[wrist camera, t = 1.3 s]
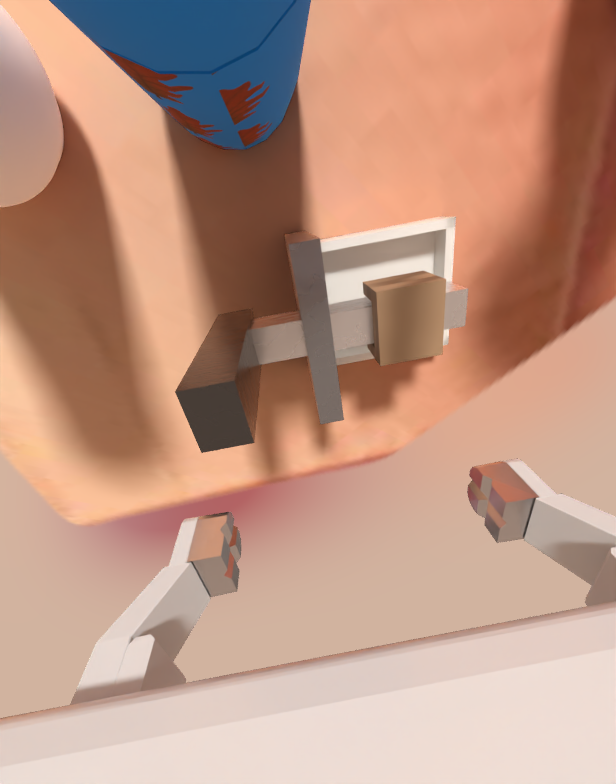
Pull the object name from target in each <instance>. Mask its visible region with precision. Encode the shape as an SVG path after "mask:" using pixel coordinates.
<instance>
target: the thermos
mask: <svg viewBox="0 0 616 784" xmlns="http://www.w3.org/2000/svg"><path fill="white" fill-rule="evenodd" d="M49 1H50V2H51V3H52V4H54V5H55V6H56V7H57V8H58V9H59V10H60V11H61V12H62V13H63V14H64V15H65V16H66V17H67V18H68V19H69V20H70V21H71V22H72V23H74V24H75V25H76V26H77V27H78V28H79V29H80V30H81V31H82V32H83V33H84V34H85V35H86V36H87V37H88V38H89V39H90V40H91V41H92V42H94V43H95V44H96V45H97V46H98V47H99V48H100V49H101V50H102V51H103V52H104V53H105V54H106V55H107V56H108V57H109V58H110V59H111V60H112V61H113V62H115V63H116V64H117V65H118V66H119V67H120V68H121V69H122V70H123V71H124V72H125V73H126V74H127V75H128V76H129V77H130V78H131V79H132V80H133V81H135V82H136V83H137V84H138V85H139V86H140V87H141V88H142V89H143V90H144V91H145V92H146V93H147V94H148V95H149V96H150V97H151V98H152V99H153V100H155V101H156V102H157V103H158V104H159V105H160V106H161V107H162V108H163V109H164V110H165V111H166V112H167V113H168V114H170V115H171V116H172V117H173V118H174V119H175V120H176V121H177V122H179V123H180V124H181V125H182V126H183V127H184V128H185V129H186V130H188V131H189V132H190V133H191V134H193V135H194V136H196V137H197V138H199V139H200V140H202V141H204V142H207V143H209V144H212V145H214V146H216V147H219V148H221V149H224V150H241V149H248V148H250V147H252V146H254V145H256V144H259V143H261V142H263V141H265V140H266V139H267V138H268V137H269V136H270V135H271V134H272V132H273V131H274V130H275V129H276V128H277V127H278V126H279V124H280V123H281V122H282V120H283V118H284V115H285V113H286V110H287V108H288V105H289V103H290V100H291V98H292V95H293V92H294V89H295V86H296V83H297V80H298V75H299V68H300V62H301V56H302V50H303V44H304V38H305V32H306V26H307V20H308V14H309V8H310V2H311V0H49Z"/></svg>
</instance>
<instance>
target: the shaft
mask: <svg viewBox="0 0 616 784" xmlns="http://www.w3.org/2000/svg"><path fill="white" fill-rule="evenodd" d="M467 298H468V288H466V287H463V286H461V285H458V284H455V283H453V282H450V281H448V282H446V296H445V315H444V330H446V329H452V328H457V327H462V326H465V321H466V309H467ZM329 311H330V319H331V327H332V334H333V342H334V349H335V351H336V350H341V349H346V348H351V347H357V346H362V345H367V344H373V343H374V331H373V315H372V301H370V300H369V299H368V298H367V297H364V298H359V299H354V300H348V301H343V302H338V303H333V304H329ZM304 356H308V354H307V348H306V343H305V337H304V331H303V326H302V320H301V315H300V311H299V310H296V311H291V312H285V313H280V314H275V315H270V316H264V317H259V318H254V314H253V310H252V309H246V310H241V311H236V312H231V313H225V314H220V315H218V317H217V319H216V321H215V322H214V324H213V326H212V328H211V329H210V331H209V333H208V335H207V336H206V338H205V340H204V342H203V343H202V345H201V347H200V349H199V351H198V352H197V354H196V356H195V358H194V359H193V361H192V363H191V365H190V366H189V368H188V370H187V372H186V374H185V375H184V377H183V379H182V381H181V382H180V384H179V386H178V388H177V389H176V391H175V392H176V395H177V397H178V399H179V402H180V404H181V406H182V409H183V411H184V413H185V416H186V418H187V420H188V422H189V425H190V427H191V429H192V432H193V434H194V436H195V439H196V441H197V443H198V446H199V448H200V450H201V452H202V453H203V452H208V451H214V450H219V449H224V448H229V447H235V446H240V445H245V444H251V443H254V440H255V429H256V418H257V407H258V396H259V385H260V375H261V365H262V364H267V363H272V362H278V361H283V360H288V359H294V358H299V357H304Z"/></svg>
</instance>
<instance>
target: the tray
mask: <svg viewBox="0 0 616 784" xmlns="http://www.w3.org/2000/svg"><path fill="white" fill-rule="evenodd" d="M455 222H456V217H436V218H431V219H425V220H420V221H415V222H410V223H404V224H399V225H394V226H389V227H383V228H378V229H373V230H368V231H362V232H357V233H352V234H347V235H341V236H336V237H331V238H326V239H320V243H321V251H322V258H323V266H324V274H325V281H326V289H327V296H328V304H333V303H338V302H343V301H348V300H354V299H359V298H364V297H366V296H365V295H364V293H363V282H365V281H370V280H376V279H381V278H386V277H391V276H397V275H402V274H407V273H412V272H418V271H426V272H429V273H431V274H434V275H437V276H439V277H442V278H445V279H446V282H448V281H450V282H452V272H453V256H454V239H455ZM448 339H449V329H446V330H444V335H443V345H448ZM335 357H336V364H337V365H342V364H347V363H353V362H358V361H363V360H368V359H374V356H373V355H372V353H371V352H370V351H369V349H368V346H367V345H362V346H357V347H351V348H346V349H341V350H336V351H335Z"/></svg>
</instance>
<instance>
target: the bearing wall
mask: <svg viewBox="0 0 616 784" xmlns="http://www.w3.org/2000/svg"><path fill="white" fill-rule="evenodd" d="M284 238H285V243H286V248H287V254H288V259H289V265H290V270H291V276H292V281H293V287H294V292H295V298H296V303H297V309H298V310H299V311H300V315H301V320H302V326H303V331H304V337H305V343H306V348H307V354H308V356H306V358H307V364H308V369H309V373H310V378H311V383H312V387H313V392H314V397H315V401H316V406H317V410H318V415H319V420H320V424H325V423H330V422H335V421H341V420H344V417H343V410H342V402H341V395H340V387H339V380H338V372H337V364H336V357H335V349H334V342H333V334H332V327H331V319H330V311H329V304H328V296H327V289H326V281H325V274H324V266H323V258H322V251H321V243H320V238H318V237H316V236H314V235H312V234H310V233H309V232H307V231H300V232H295V233H289V234H284Z"/></svg>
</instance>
